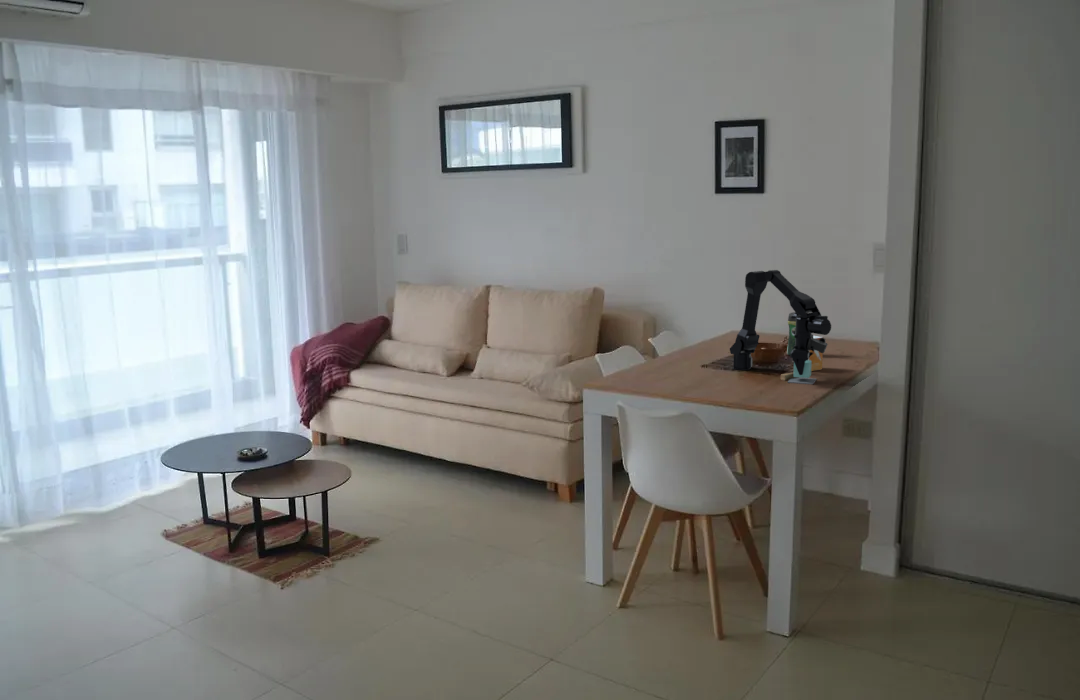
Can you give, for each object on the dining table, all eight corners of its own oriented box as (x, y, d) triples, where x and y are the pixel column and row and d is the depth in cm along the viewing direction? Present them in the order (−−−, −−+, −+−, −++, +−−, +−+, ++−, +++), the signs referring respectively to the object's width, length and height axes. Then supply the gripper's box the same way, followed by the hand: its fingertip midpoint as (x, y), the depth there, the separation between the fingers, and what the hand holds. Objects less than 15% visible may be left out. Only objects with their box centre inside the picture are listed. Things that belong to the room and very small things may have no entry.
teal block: (793, 376, 331) (793, 362, 330) (795, 374, 336) (796, 359, 335) (808, 377, 328) (809, 363, 327) (811, 375, 333) (811, 360, 332)
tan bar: (784, 380, 334) (784, 375, 334) (780, 379, 336) (780, 374, 335) (798, 377, 338) (799, 372, 338) (794, 377, 340) (794, 371, 340)
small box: (808, 372, 349) (809, 338, 347) (796, 369, 354) (797, 337, 352) (822, 369, 353) (823, 336, 351) (809, 367, 358) (810, 334, 356)
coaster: (787, 382, 330) (787, 381, 330) (791, 378, 338) (791, 377, 338) (812, 384, 326) (812, 383, 326) (816, 379, 334) (816, 378, 334)
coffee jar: (812, 354, 385) (813, 311, 382) (807, 357, 378) (809, 314, 375) (789, 353, 390) (791, 310, 387) (784, 356, 383) (786, 313, 380)
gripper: (822, 336, 317) (821, 379, 320) (829, 329, 334) (828, 370, 337) (790, 335, 322) (789, 377, 325) (799, 327, 339) (797, 368, 341)
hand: (802, 373), depth 332 cm, fingers closed on teal block, 5 cm apart
